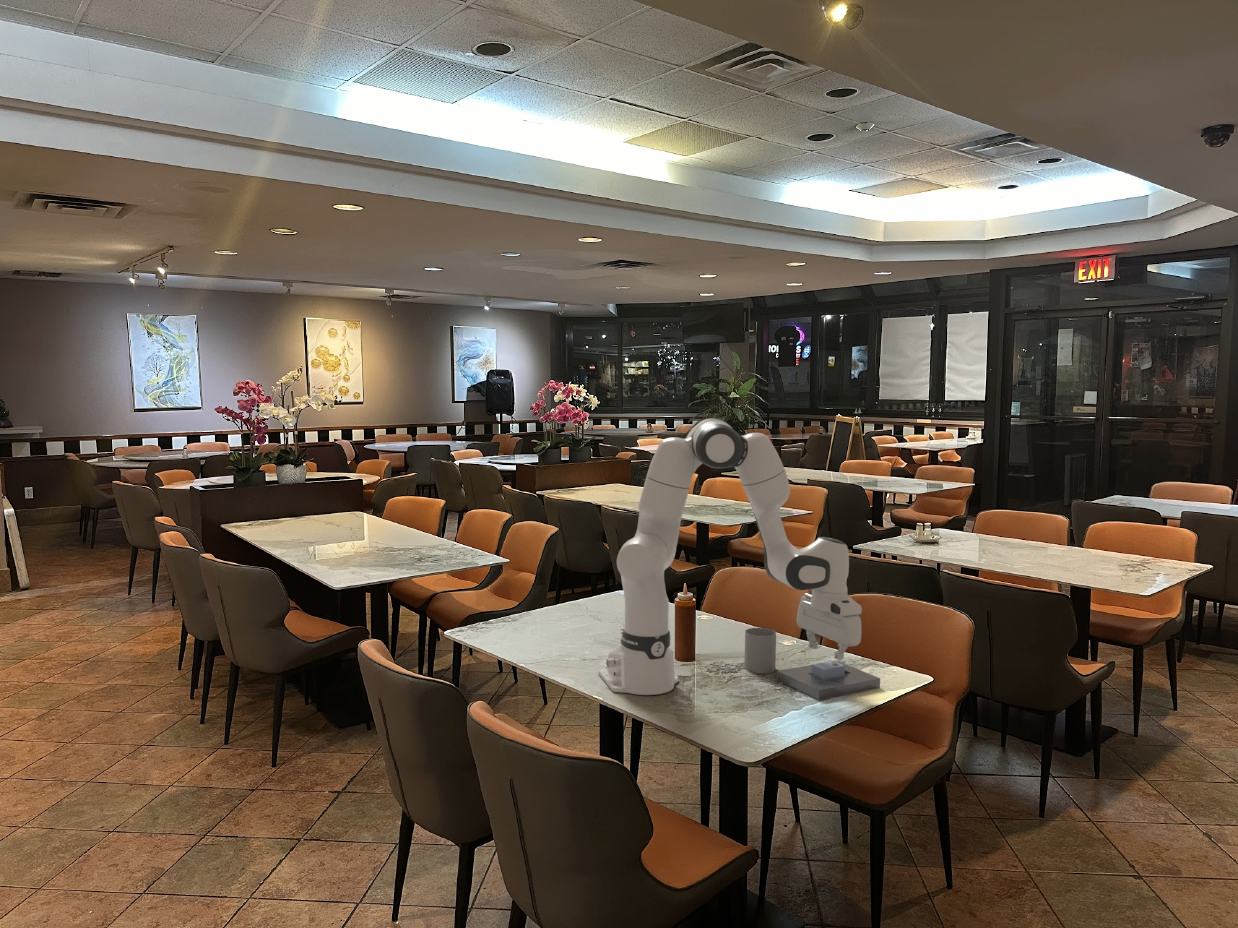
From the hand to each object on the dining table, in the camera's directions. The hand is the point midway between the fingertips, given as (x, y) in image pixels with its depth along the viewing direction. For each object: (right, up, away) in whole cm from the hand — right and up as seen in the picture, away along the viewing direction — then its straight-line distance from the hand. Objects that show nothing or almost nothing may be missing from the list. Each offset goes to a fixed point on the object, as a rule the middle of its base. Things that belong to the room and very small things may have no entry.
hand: (825, 653), depth 208 cm
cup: (-15, -7, +12) cm, 21 cm away
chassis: (+1, -8, 0) cm, 8 cm away
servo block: (+1, -8, 0) cm, 8 cm away
